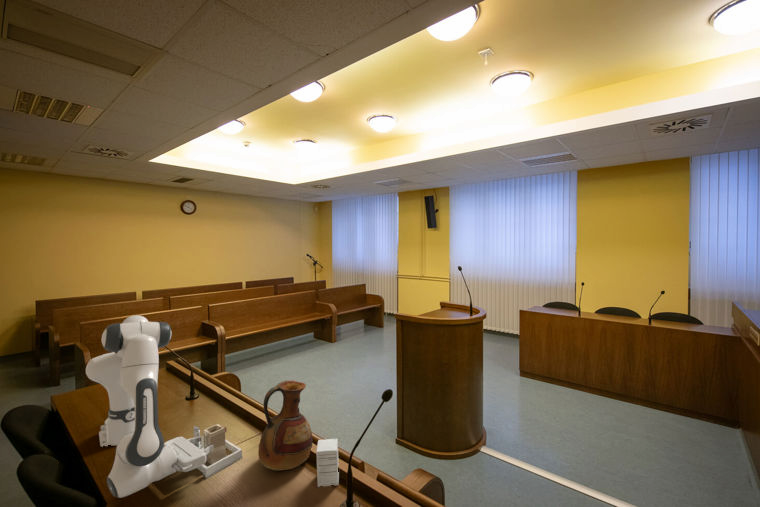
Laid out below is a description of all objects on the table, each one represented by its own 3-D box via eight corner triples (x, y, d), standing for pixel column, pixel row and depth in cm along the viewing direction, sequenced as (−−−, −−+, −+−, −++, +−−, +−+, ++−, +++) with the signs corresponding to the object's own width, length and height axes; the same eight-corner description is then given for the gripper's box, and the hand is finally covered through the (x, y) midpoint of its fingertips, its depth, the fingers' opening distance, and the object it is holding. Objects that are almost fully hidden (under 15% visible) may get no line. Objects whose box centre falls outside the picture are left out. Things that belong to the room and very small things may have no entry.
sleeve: (204, 460, 132) (203, 430, 131) (222, 450, 137) (221, 421, 137) (211, 465, 128) (210, 434, 128) (229, 455, 134) (228, 426, 134)
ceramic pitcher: (318, 467, 127) (316, 388, 126) (262, 485, 118) (259, 401, 117) (305, 440, 145) (303, 371, 144) (256, 454, 136) (253, 381, 135)
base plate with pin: (175, 450, 140) (174, 429, 140) (205, 436, 150) (204, 417, 149) (189, 461, 133) (188, 439, 133) (218, 445, 142) (218, 425, 142)
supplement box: (318, 473, 124) (317, 439, 123) (339, 471, 124) (338, 437, 124) (316, 487, 116) (315, 451, 116) (338, 485, 117) (337, 449, 117)
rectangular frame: (188, 464, 131) (188, 455, 131) (223, 446, 142) (223, 438, 142) (206, 478, 122) (206, 468, 122) (242, 458, 134) (241, 449, 134)
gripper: (179, 463, 112) (220, 443, 123) (154, 443, 124) (193, 426, 135) (180, 482, 112) (221, 460, 123) (155, 460, 124) (194, 442, 135)
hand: (206, 442), depth 129 cm, fingers open, 8 cm apart
